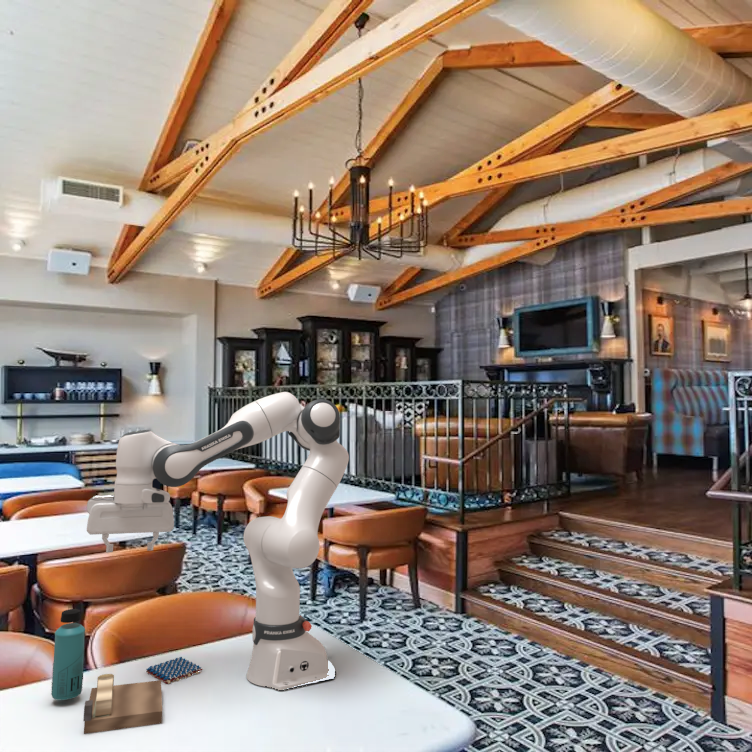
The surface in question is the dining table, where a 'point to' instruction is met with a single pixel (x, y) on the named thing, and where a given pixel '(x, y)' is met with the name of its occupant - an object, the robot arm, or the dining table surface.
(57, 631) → the beverage bottle
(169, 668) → the woven mat
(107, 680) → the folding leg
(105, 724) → the brown wooden box
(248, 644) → the dining table surface
